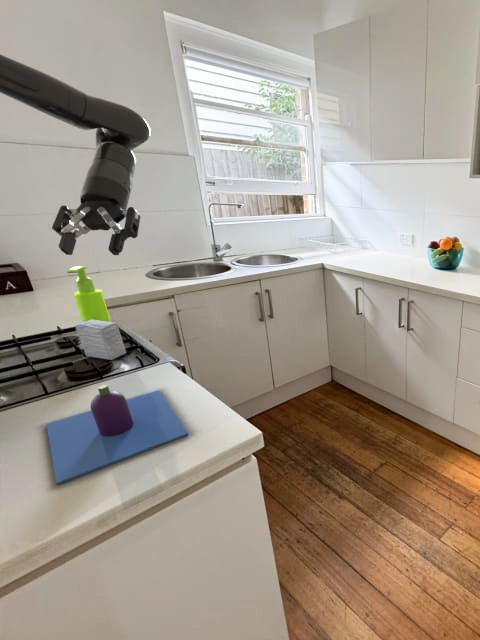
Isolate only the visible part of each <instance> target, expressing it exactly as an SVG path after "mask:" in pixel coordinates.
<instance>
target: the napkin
mask: <svg viewBox="0 0 480 640" xmlns="http://www.w3.org/2000/svg"><path fill="white" fill-rule="evenodd" d="M126 401H127V404H128V407H129V410H130V414H131V417H132V420H133V423H134V424H133V426H132V427H131V428H130V429H129V430H128V431H126V432H124V433H122V434H119V435H115V436H102V435H101V434H100V432H99V430H98V427H97V424H96V422H95V419H94V416H93V414H92V411H91V410H89V411H85V412H81V413H77V414H75V415H72V416H68V417H64V418H61V419H59V420H54V421H51V422H48V423H46V429H47V435H48V436H47V437H48V441H49V449H50V454H51V460H52V466H53V472H54V478H55V484H56V485H57V486H58V485H60V484H63V483H66V482H69V481H71V480H74V479H76V478H79V477H82V476H84V475H87V474H90V473H92V472H94V471H97V470H100V469H103V468H105V467H107V466H110V465H113V464H115V463H118V462H121V461H124V460H126V459H129V458H131V457H134V456H137V455H139V454H142V453H144V452H146V451H149V450H152V449H155V448H157V447H160V446H162V445H165V444H169V443H170V442H173V441H176V440H178V439H181V438H183V437H187V436H188V435H189V432H188V431H187V429H186V428H185V427H184V425H183V423H182V422H181V420H180V419H179V417H178V416H177V414H176V413H175V412H174V410H173V408H172V407H171V406H170V405H169V403H168V402H167V400H166V399H165V397H164V396H163V394H162V393H161V391H160V390H156V391H152V392H147V393H144V394H142V395H139V396H135V397H132V398H128V399H126Z"/></svg>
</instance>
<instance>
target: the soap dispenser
mask: <svg viewBox="0 0 480 640" xmlns="http://www.w3.org/2000/svg"><path fill="white" fill-rule="evenodd" d="M86 269H88V266H87V265H78V266H73V267H70V268H69V269H68V270H66V273H67V274H77V279H75V284H76V287H77V290H78V291H75V292H74V293H73V297H74V300H75V302H76V307H77V308H78V312H79V314H80V317H81V321H82V323H83V322H86V321H89V320H99V321H107V322H112V320H111V316H110V313H109V310H108V307H107V304H106V301H105V298H104V294H103V290H101V289H100V288H96V287H95V284H94V281H93V278H92V277H89V276H87V273H86Z"/></svg>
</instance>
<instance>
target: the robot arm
mask: <svg viewBox="0 0 480 640" xmlns="http://www.w3.org/2000/svg"><path fill="white" fill-rule="evenodd" d="M0 94H3V95H5V96H7V97H9V98H11V99H13V100H16V101H17V102H19V103H21V104H24V105H26V106H28V107H30V108H32V109H34V110H37V111H39V112H41V113H43V114H44V115H45V114H46V115H47V116H50V117H52V118H54V119H57V120H58V121H61V122H64V123H65V124H68V125H69V126H72V127H75V128H77V129H80V130H84V131H91V130H96V132H95V147H96V150H95V153H94V157H93V160H92V163H91V165H90V166H89V168H88V170H87V173H86V176H85V178H84V182H83V186H82V189H81V192H80V194H79V195H80V196H79V200H80V205H79V206H78V207H77V208H69V207H68V206H67V205H61V206H60V207H59V210H58V212H57V215H56V216H55V219H54V221H53V224H52V226H51V229H52V230H53V231H54V232H56V233H57V235H59V236H60V240H59V243H58V248H59V249H60V251H61V252H62V253H63V254H65V255H66V256H72V255H73V253H74V250H75V247H76V243H77V239H78V238H79V237H80V236H82V235H87V234H89V233H90V232H91V231H100V230H101V231H106V232H107V231H110V230H112V232H113V233H111V237H110V240H109V245H108V251H109V253H111V254H112V255H113V256H120V254H121V253H122V252H123V250H124V247H125V241H127V240H128V239H129V238H132V239H136V238H137V237H138V236H139V229H140V222H141V215H140V213H139V212H138V211H137V210H136V208H134V206H129V201H130V196H131V192H132V189H133V179H134V176H135V173H136V172H135V171H136V166H137V159H136V157H135V154H134V153H133V150H134V149H136V148H138V147H139V146H141V145H143V144H144V143H146V142H147V141H148V140H149V139H150V137H151V127H150V126H149V124H148V123H147V121H146V119H144V117H143V116H141V115H140V114H139V113H138V112H136V111H135V110H133V109H132V108H130V107H128V106H125V105H123V104H119V103H117V102H113V101H111V100H108V99H107V100H106V99H104V98H101V97H96V96H93V95H92V96H91V95H89V94H87V93H85V92H83V91H81V90H79V89H77V88H75V87H74V86H72V85H70V84H68V83H66V82H64V81H62V80H60V79H58V78H56V77H53V76H52V75H49V74H48V73H45V72H43V71H40V70H38V69H36V68H34V67H31V66H29V65H27V64H24V63H22V62H20V61H17V60H15V59H13V58H10V57H8V56H6V55H3V54H1V53H0ZM128 206H129V207H128ZM124 219H125V221H124V228H122V227H121V226H120V224H119V223H121V222H122V221H123V220H124ZM80 223H82V224H83V226H81V224H80ZM75 229H76V230H75Z"/></svg>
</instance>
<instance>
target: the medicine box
mask: <svg viewBox="0 0 480 640" xmlns="http://www.w3.org/2000/svg"><path fill="white" fill-rule="evenodd" d="M75 330H76V332H77V335H78V339H79V340H80V343H81V346H82V350H83V352H84V354H85V357H88V358H93V359H94V358H96V359H103V360H109V361H112V360H116V359H118V358H120V357H121V356H124V355H126V354H127V349H126V347H125V344H124V340H123V338H122V335H121V331H120V329H119V326H118V323H117V322H114V321H111V322H107V321H99V320H89V321H86V322H83V321H82V322H80V323H78V324H76V325H75Z"/></svg>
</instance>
